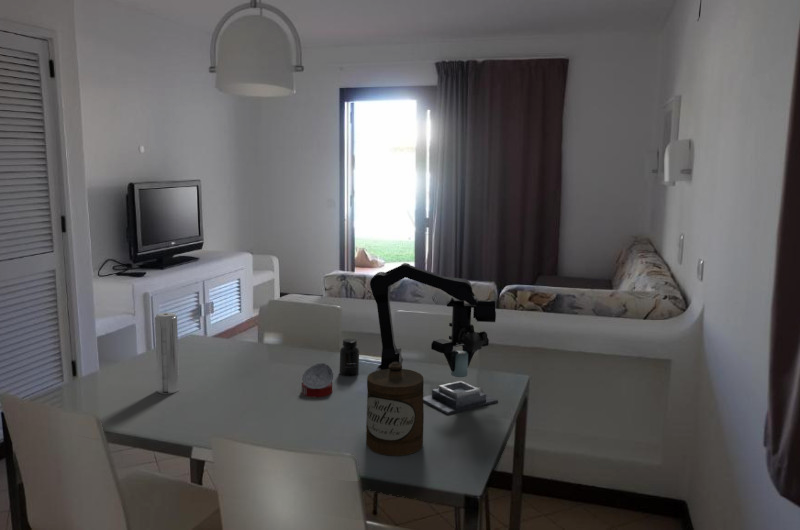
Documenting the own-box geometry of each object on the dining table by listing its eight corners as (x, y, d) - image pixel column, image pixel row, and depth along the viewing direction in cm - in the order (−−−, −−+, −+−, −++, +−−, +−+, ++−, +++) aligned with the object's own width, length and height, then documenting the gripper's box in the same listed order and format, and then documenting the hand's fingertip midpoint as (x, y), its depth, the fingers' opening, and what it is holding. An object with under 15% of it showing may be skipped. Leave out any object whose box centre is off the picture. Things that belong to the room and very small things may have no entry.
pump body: (458, 378, 186) (459, 355, 185) (447, 373, 190) (448, 351, 189) (470, 375, 189) (471, 353, 188) (460, 371, 193) (461, 349, 192)
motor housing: (447, 414, 179) (448, 400, 179) (419, 400, 191) (419, 386, 190) (497, 402, 191) (498, 388, 190) (468, 388, 202) (469, 375, 201)
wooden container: (356, 450, 155) (357, 366, 152) (379, 428, 169) (380, 351, 166) (411, 460, 150) (413, 374, 147) (430, 437, 164) (432, 358, 161)
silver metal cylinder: (183, 389, 196) (181, 313, 192) (168, 395, 190) (165, 317, 187) (168, 385, 199) (165, 310, 195) (152, 392, 193) (149, 314, 189)
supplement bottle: (349, 377, 211) (350, 344, 209) (335, 373, 215) (335, 340, 213) (362, 372, 216) (363, 340, 214) (348, 368, 220) (348, 336, 218)
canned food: (332, 404, 198) (345, 381, 195) (308, 409, 191) (320, 385, 187) (314, 381, 205) (326, 358, 201) (290, 385, 197) (301, 361, 194)
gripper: (454, 330, 175) (452, 382, 178) (502, 322, 186) (499, 372, 188) (431, 322, 184) (429, 371, 187) (477, 315, 195) (475, 362, 197)
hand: (459, 369), depth 189 cm, fingers closed on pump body, 5 cm apart
